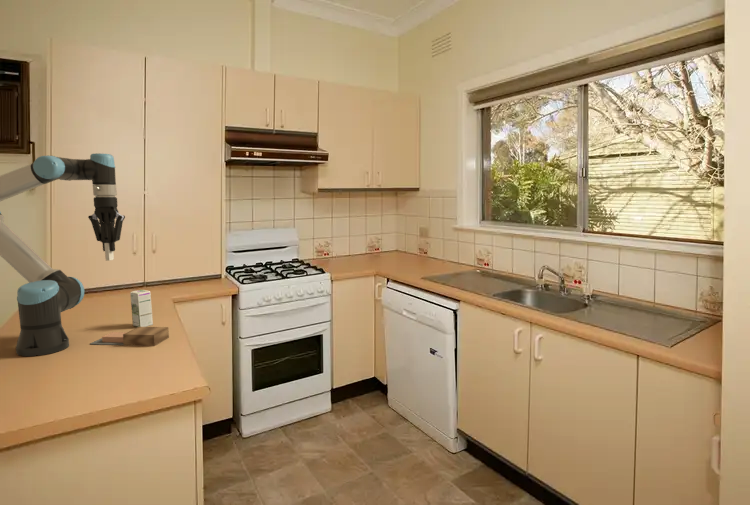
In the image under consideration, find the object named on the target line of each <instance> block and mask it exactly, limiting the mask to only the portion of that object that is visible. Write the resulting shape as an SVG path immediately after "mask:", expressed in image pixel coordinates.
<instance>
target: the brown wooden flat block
mask: <svg viewBox="0 0 750 505" xmlns="http://www.w3.org/2000/svg"><path fill="white" fill-rule="evenodd" d="M168 338H170V334H169V326H147V327H135V328H133V329H131V330H129V331H127V333H125V334H123V342H124V345H123V346H135V347H136V346H138V347H139V346H142V347H143V346H145V347H155V346H157V345H159V344H161V343H162V342H163V341H165V340H167V339H168Z"/></svg>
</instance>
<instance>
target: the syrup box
mask: <svg viewBox="0 0 750 505" xmlns="http://www.w3.org/2000/svg"><path fill="white" fill-rule="evenodd" d="M129 294H130V304H131V317H132V326H133V327H135V328H137V327H151V326H153V325H154V322H153V309H152V308H153V306H152V297H151V296H152V294H151V291H150V290H146V289H138V290H137V289H136V290H133V291H130V292H129Z"/></svg>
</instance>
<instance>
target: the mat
mask: <svg viewBox="0 0 750 505" xmlns="http://www.w3.org/2000/svg"><path fill="white" fill-rule="evenodd" d="M89 345H96V346H98V345H100V346H125V345H124V343H118V342H102V337H101V338H99V339H97V340H95V341H94V340H93V342H90V343H89Z"/></svg>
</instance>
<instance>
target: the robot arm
mask: <svg viewBox="0 0 750 505" xmlns="http://www.w3.org/2000/svg"><path fill="white" fill-rule="evenodd" d="M58 180H60V181H91V183H92V195H93V196H95V197H93V207H94V211H93V212H94V213H93V214H91V215H88V217H87V218H88V220H89V221H90V222H91V225H92V229H93V232H94V234H95V239H96V241H97V242H101V243H102V251H103V252H104V255H105V256H104V257H105V258H104V259H105V261H113V260H115V257H114V255H115V254H114V252H115V250H116V244H115V243H116V242H118V241H120V240H121V234H122V229H123V228H122V227H123V223H124V221H125V218H126V216H125V215H124V214H120V213H119V210H118V198H117V195H118V192H117V183H116V165H115V158H114V156H113V155H112V154H111V153H99V152H98V153H91V154H90V156H89V158H86V159H83V158H82V159H80V158H79V159H77V158H75V159H74V158H68V157H61V156H55V155H40V156H38V157H37V158H36V159H35V160H34V161H33V162H32V163H30V164H27V165H24V166H22V167H19V168H16V169H13V170H11V171H9V172H5V173H4V174H0V202H2V201H5V200H8V199H10V198H13V197H15V196H18V195H20V194H23V193H25V192H28V191H30V190H33V189H36V188H39V187H41V186H44V185H46V184H48V183H51V182H54V181H58ZM4 219H5V217H4V215H3V214H2V212H1V211H0V257H1V258H2V259H3V260H5V262H7V264H9V266H11V267H12V268H13V269H14V270H15V271H16V272H17V273H18V274H20V275H21V276H22V278H24V279H25V280H26V281H27V283H25V284H22V285H21V286H20V287H18V289H17V295H16V301H17V308H18V317H19V318H18V319H19V327H20V332H19V335H18V339H17V342H16V345H15V352H16V353H17V354H18V355H17V354H16V355H17V356H20V355H22V356H21V357H37V356H36V355H38V356H44V355H50V354H54V353H57V352H61V351H64V350H66V349H67V348H69V346H70V339H69V337H68V335H67V333H66V331H65V329H64V327H63V325H62V313H63V312H66V311H68V310H71V309H74V308H75V307H76V306H77V305H79V304H81V302H82V301H83V300H84V297H85V287H84V285H83V283H82V281H81V280H80V279H78V278H76V277H74V276H67V274H66V273H64V272H63V271H62V269H58V268H57V269H56V268H52V266H50V265H49V264H48V263H47V262H46V261H45V260H44V259H43V258H42V257H41V256H39V254H37V252H35V251H34V250H33V249H32V248H31V247H30V246H29V245H28V244H27V243H26V242H25V241H24V240H23V239H22V238H20V237H19V236H18V234H17V233H15V232H14V231H13V230H12V229H11V227H9V226H8V225H7V224H6V223H5V222H4V221H5V220H4Z"/></svg>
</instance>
